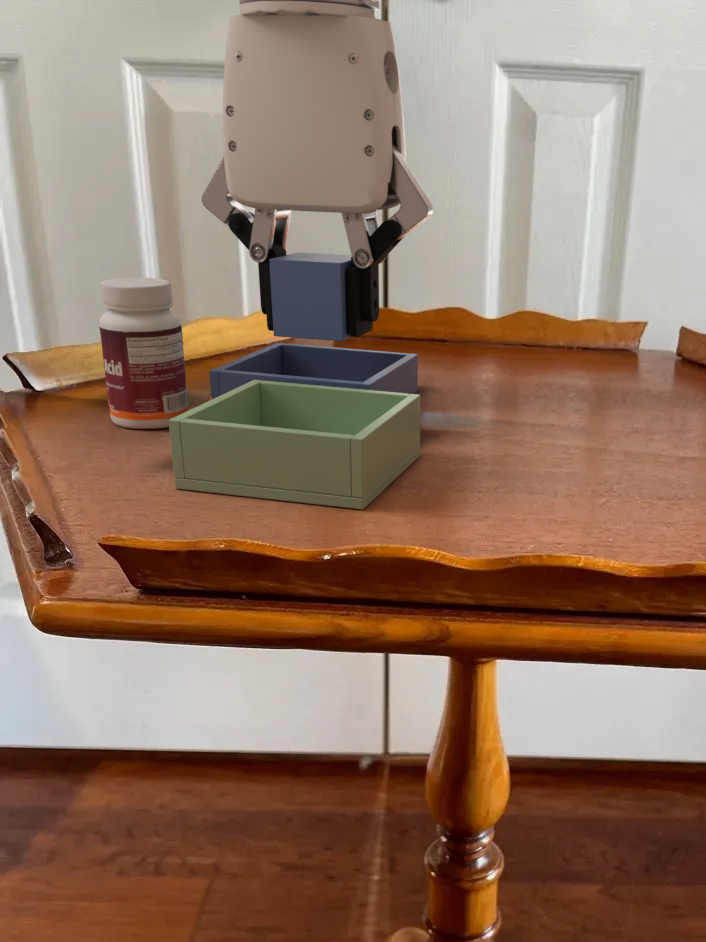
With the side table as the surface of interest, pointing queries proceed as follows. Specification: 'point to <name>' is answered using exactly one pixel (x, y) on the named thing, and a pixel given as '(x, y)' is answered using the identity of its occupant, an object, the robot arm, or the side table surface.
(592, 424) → the side table surface
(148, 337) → the pill bottle
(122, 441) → the side table surface
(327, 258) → the block
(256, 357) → the bin blue
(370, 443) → the bin green
